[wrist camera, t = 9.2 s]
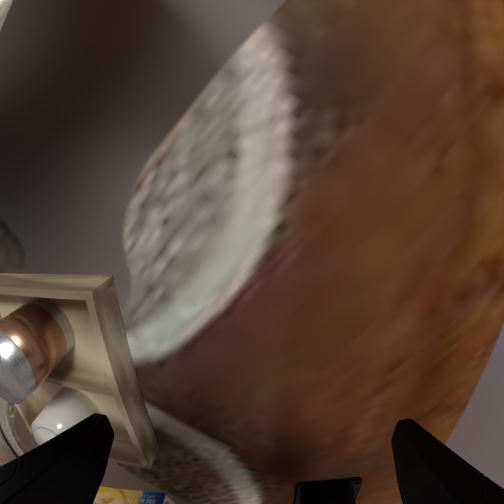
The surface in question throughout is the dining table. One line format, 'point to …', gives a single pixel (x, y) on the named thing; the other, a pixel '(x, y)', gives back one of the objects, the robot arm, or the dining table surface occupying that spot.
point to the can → (32, 347)
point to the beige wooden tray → (89, 358)
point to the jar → (62, 414)
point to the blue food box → (130, 497)
